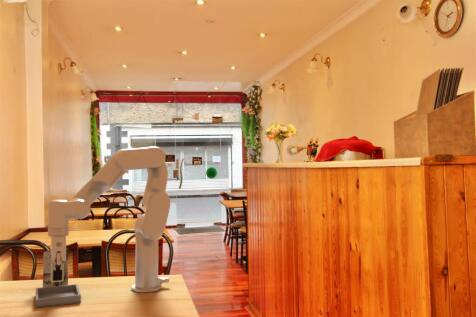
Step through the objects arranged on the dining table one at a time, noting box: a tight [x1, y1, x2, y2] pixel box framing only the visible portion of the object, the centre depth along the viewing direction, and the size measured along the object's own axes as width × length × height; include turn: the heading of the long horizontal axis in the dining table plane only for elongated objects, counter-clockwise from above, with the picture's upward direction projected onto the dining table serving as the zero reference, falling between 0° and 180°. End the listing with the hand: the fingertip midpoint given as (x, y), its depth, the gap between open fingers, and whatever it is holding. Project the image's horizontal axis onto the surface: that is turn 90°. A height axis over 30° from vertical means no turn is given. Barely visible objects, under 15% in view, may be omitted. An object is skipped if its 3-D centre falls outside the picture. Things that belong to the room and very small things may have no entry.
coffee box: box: [42, 247, 69, 288], centre depth 188 cm, size 9×6×16 cm
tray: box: [35, 283, 82, 309], centre depth 173 cm, size 16×16×3 cm
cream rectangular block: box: [51, 261, 64, 282], centre depth 173 cm, size 4×4×7 cm
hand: (57, 278), depth 173 cm, fingers closed on cream rectangular block, 4 cm apart
